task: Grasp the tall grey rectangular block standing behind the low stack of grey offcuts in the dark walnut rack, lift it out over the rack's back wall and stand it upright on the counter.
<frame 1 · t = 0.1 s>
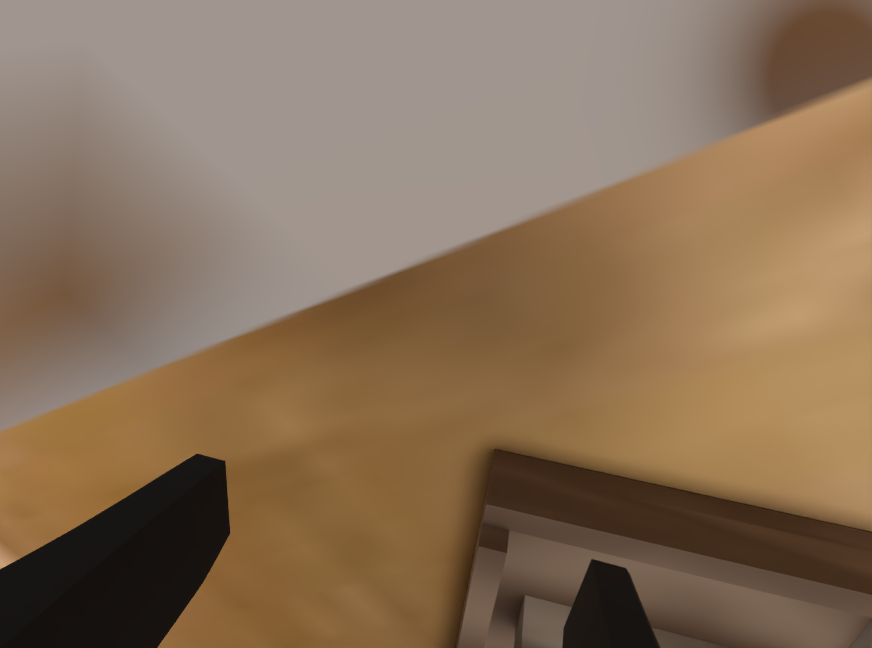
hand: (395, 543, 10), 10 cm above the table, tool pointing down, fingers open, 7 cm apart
walnut rack: (711, 641, 24), on the table
grey rectangular block: (645, 644, 23), point 1 cm above the table, touching walnut rack
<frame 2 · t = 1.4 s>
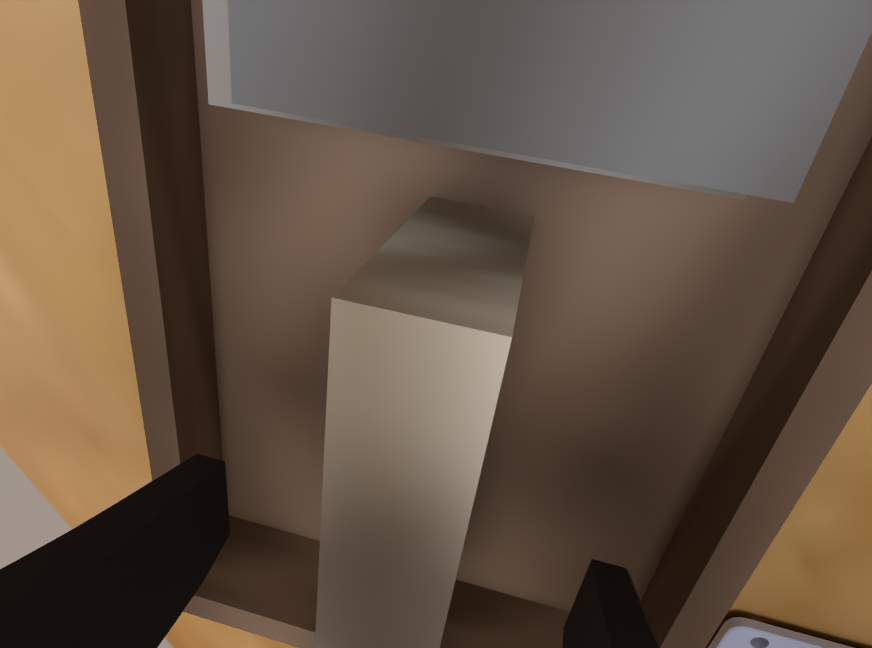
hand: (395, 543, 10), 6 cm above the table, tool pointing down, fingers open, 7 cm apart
offcut stack: (513, 32, 10), point 1 cm above the table, touching walnut rack
walnut rack: (470, 289, 14), on the table
grey rectangular block: (447, 401, 15), point 1 cm above the table, touching walnut rack
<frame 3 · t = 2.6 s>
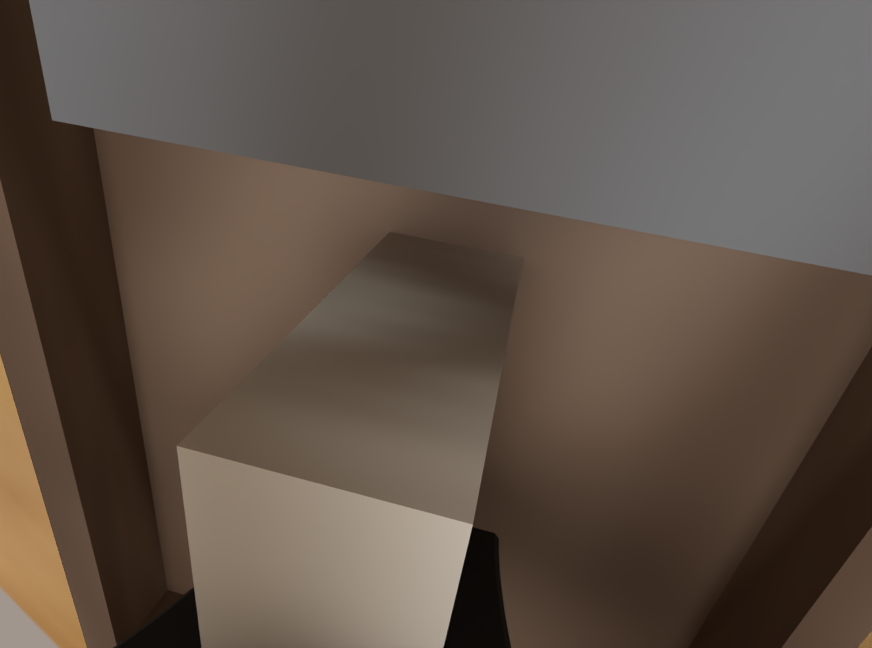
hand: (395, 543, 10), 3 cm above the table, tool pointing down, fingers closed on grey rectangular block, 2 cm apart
offcut stack: (492, 17, 8), point 1 cm above the table, touching walnut rack
walnut rack: (445, 340, 11), on the table
grey rectangular block: (418, 476, 12), point 1 cm above the table, touching gripper, walnut rack
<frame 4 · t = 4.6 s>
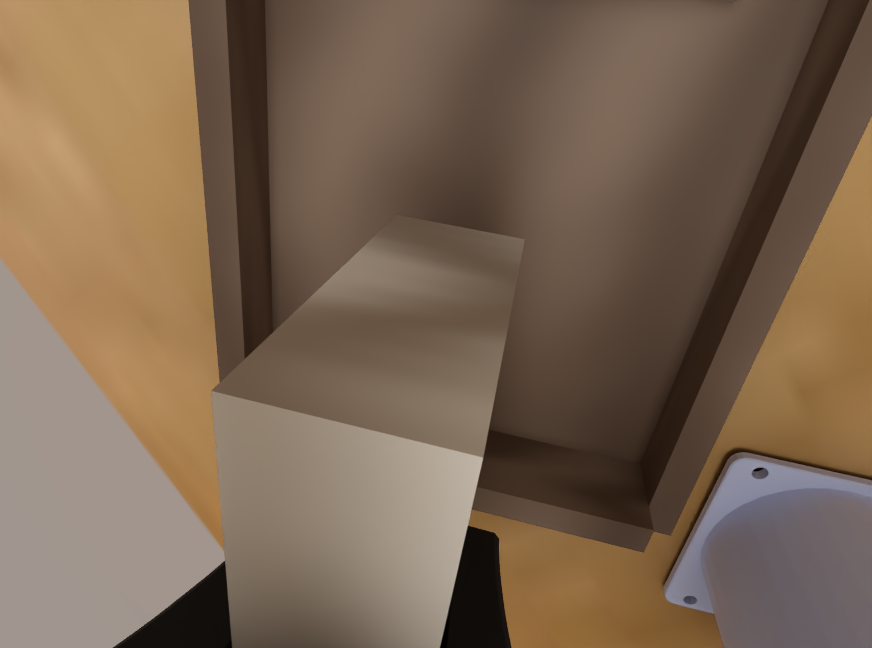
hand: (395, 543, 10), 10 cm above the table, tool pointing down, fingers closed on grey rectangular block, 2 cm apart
walnut rack: (500, 138, 16), on the table
grey rectangular block: (423, 454, 12), point 7 cm above the table, touching gripper
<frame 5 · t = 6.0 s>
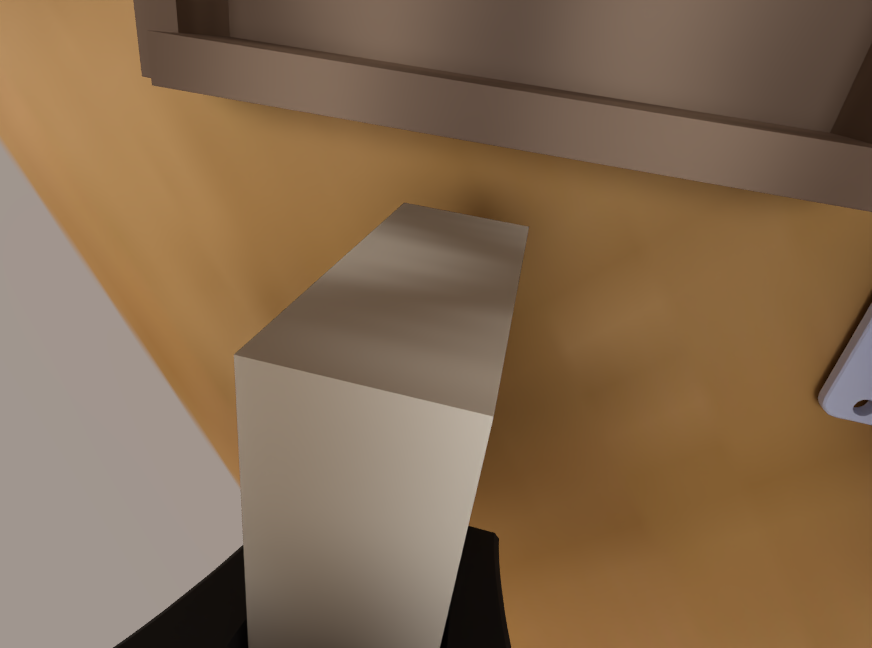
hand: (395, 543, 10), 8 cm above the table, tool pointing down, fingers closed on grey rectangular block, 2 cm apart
grey rectangular block: (428, 441, 12), point 5 cm above the table, touching gripper
when the fingers open (3 cm above the table, at t = 6.9 s): grey rectangular block stays where it is, on the table.
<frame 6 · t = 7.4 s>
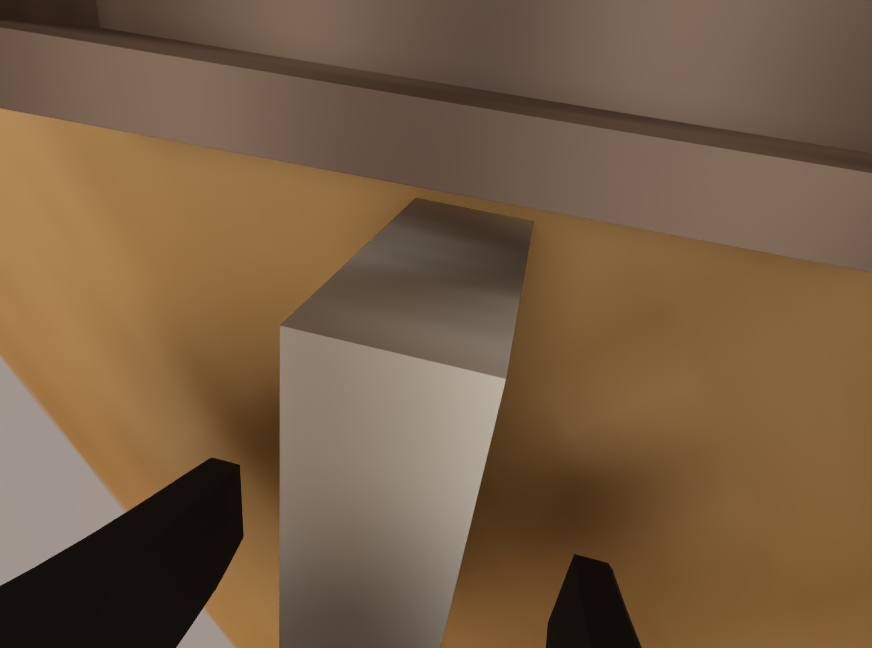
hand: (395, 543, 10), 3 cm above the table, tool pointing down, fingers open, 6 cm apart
grey rectangular block: (436, 422, 13), on the table
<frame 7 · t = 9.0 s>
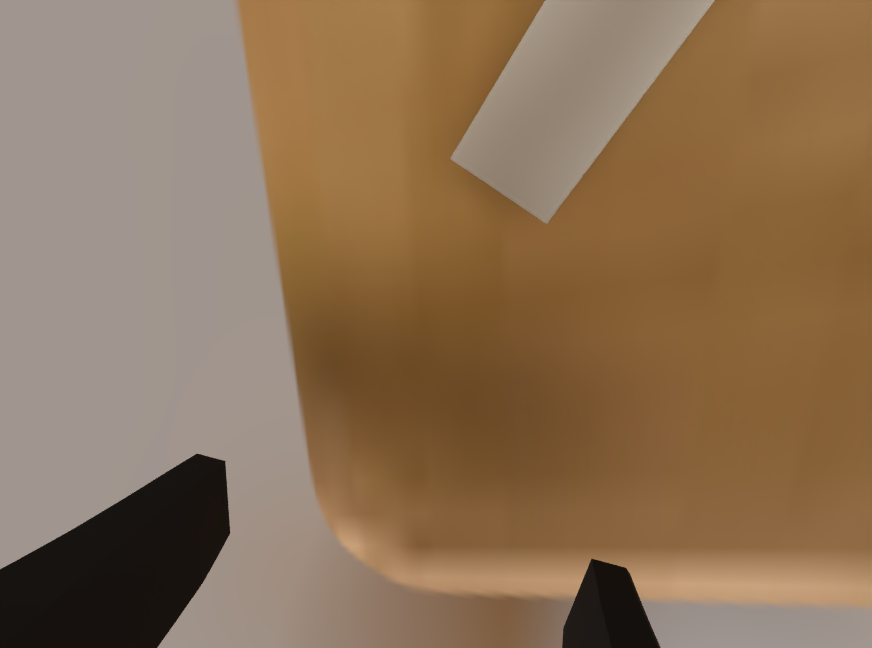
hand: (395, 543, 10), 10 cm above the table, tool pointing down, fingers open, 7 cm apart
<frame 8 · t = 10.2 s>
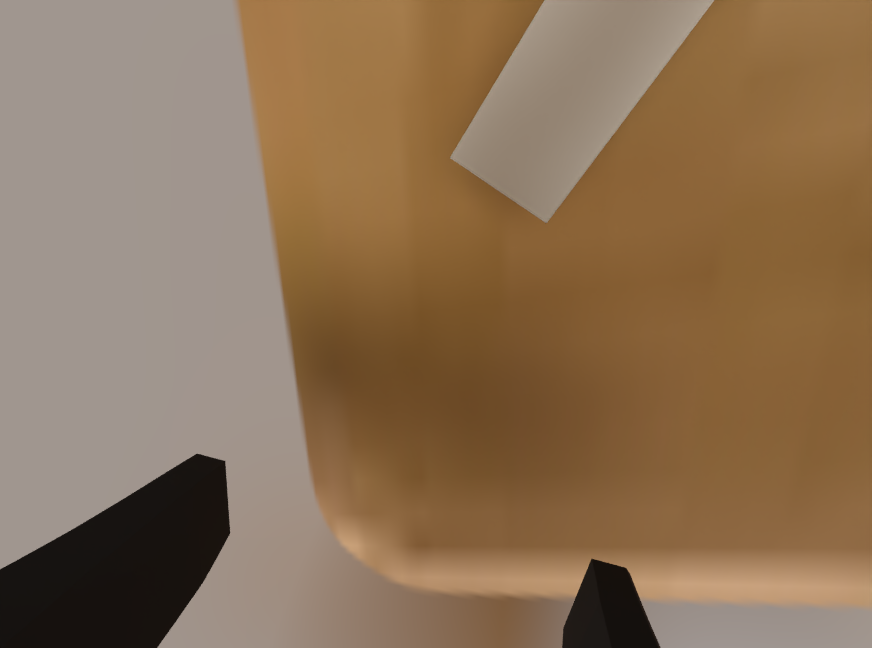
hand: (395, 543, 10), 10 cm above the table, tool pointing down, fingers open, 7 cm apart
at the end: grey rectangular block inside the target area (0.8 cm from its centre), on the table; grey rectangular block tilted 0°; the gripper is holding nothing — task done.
